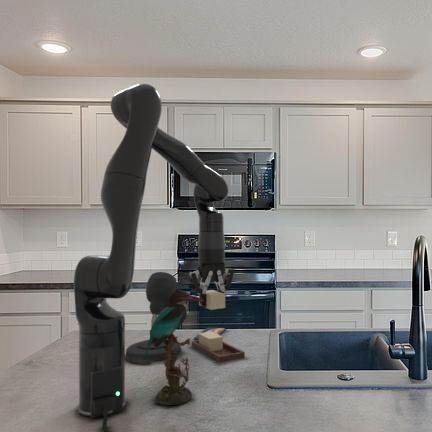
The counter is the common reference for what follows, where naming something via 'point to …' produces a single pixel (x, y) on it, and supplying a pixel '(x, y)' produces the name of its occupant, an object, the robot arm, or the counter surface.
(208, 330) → the smartphone
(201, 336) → the pad
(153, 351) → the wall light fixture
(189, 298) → the sculpture
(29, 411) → the counter surface
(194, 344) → the frame
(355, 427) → the counter surface
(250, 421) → the counter surface
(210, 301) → the pad
